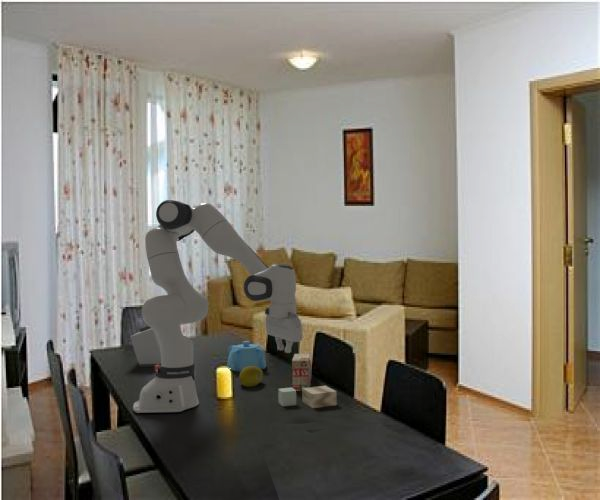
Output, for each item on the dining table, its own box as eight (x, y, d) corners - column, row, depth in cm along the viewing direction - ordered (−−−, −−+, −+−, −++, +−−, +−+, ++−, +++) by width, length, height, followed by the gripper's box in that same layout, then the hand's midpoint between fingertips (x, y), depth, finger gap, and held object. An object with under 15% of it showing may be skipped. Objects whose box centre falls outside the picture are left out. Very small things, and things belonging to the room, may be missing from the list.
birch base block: (312, 409, 207) (312, 394, 207) (302, 402, 216) (302, 388, 216) (336, 405, 211) (336, 391, 211) (325, 399, 219) (325, 385, 219)
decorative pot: (265, 368, 272) (264, 337, 272) (266, 376, 256) (266, 343, 256) (228, 369, 271) (227, 338, 270) (227, 377, 255) (226, 345, 254)
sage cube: (282, 406, 210) (282, 392, 210) (278, 402, 215) (278, 388, 215) (296, 405, 212) (296, 390, 212) (292, 401, 217) (291, 387, 216)
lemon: (244, 390, 232) (243, 369, 232) (234, 386, 239) (234, 366, 239) (268, 386, 238) (268, 366, 238) (258, 382, 245) (258, 362, 245)
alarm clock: (167, 372, 267) (165, 326, 266) (131, 373, 267) (129, 326, 267) (177, 362, 287) (176, 319, 287) (144, 363, 288) (143, 320, 287)
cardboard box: (296, 379, 250) (295, 349, 250) (311, 379, 250) (311, 349, 249) (292, 392, 229) (291, 359, 228) (309, 392, 228) (308, 359, 228)
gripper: (306, 313, 203) (307, 355, 203) (278, 307, 220) (278, 345, 221) (290, 315, 199) (290, 357, 200) (262, 308, 217) (262, 347, 218)
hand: (284, 351), depth 210 cm, fingers open, 4 cm apart
